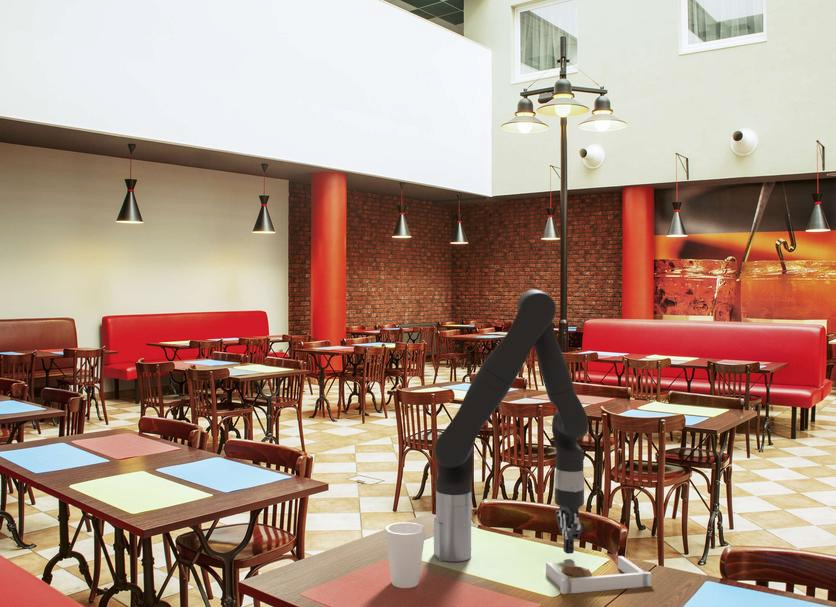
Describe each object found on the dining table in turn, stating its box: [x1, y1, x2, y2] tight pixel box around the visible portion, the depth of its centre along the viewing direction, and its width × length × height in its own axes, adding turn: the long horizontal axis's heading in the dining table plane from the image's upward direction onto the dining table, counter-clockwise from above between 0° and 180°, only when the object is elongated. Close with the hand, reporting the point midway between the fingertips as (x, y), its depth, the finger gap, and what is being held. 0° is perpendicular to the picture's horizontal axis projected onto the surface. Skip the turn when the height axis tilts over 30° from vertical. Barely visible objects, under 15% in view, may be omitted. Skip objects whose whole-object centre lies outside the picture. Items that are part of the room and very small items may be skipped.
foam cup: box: [384, 521, 426, 589], centre depth 176 cm, size 10×9×13 cm
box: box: [545, 555, 652, 595], centre depth 178 cm, size 22×12×3 cm, turn 103°
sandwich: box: [561, 565, 593, 578], centre depth 178 cm, size 11×8×2 cm
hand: (568, 552), depth 193 cm, fingers closed
